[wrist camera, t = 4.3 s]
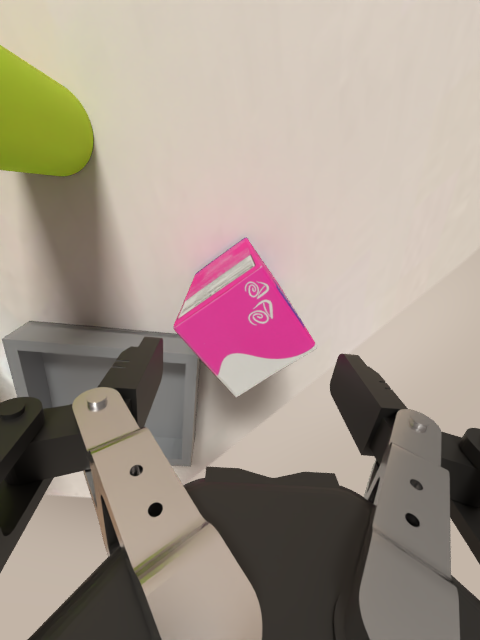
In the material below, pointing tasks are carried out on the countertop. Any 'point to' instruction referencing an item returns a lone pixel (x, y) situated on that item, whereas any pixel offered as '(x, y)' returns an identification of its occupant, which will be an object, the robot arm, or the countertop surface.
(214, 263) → the supplement box
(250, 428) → the countertop surface
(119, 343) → the tray
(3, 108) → the soap dispenser
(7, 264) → the countertop surface
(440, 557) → the robot arm
